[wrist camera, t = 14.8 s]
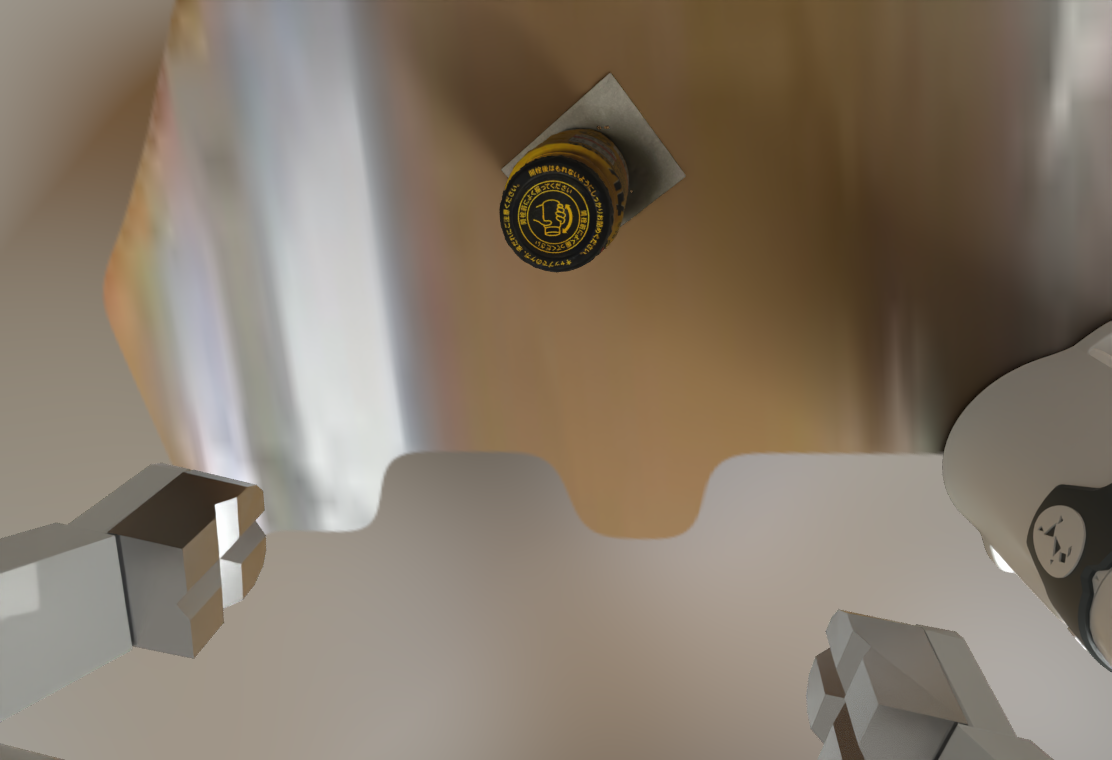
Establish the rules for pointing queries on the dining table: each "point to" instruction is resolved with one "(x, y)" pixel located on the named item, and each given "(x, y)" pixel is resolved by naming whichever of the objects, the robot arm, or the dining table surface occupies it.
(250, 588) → the robot arm
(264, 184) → the dining table surface
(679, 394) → the dining table surface
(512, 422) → the dining table surface
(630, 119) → the condiment
